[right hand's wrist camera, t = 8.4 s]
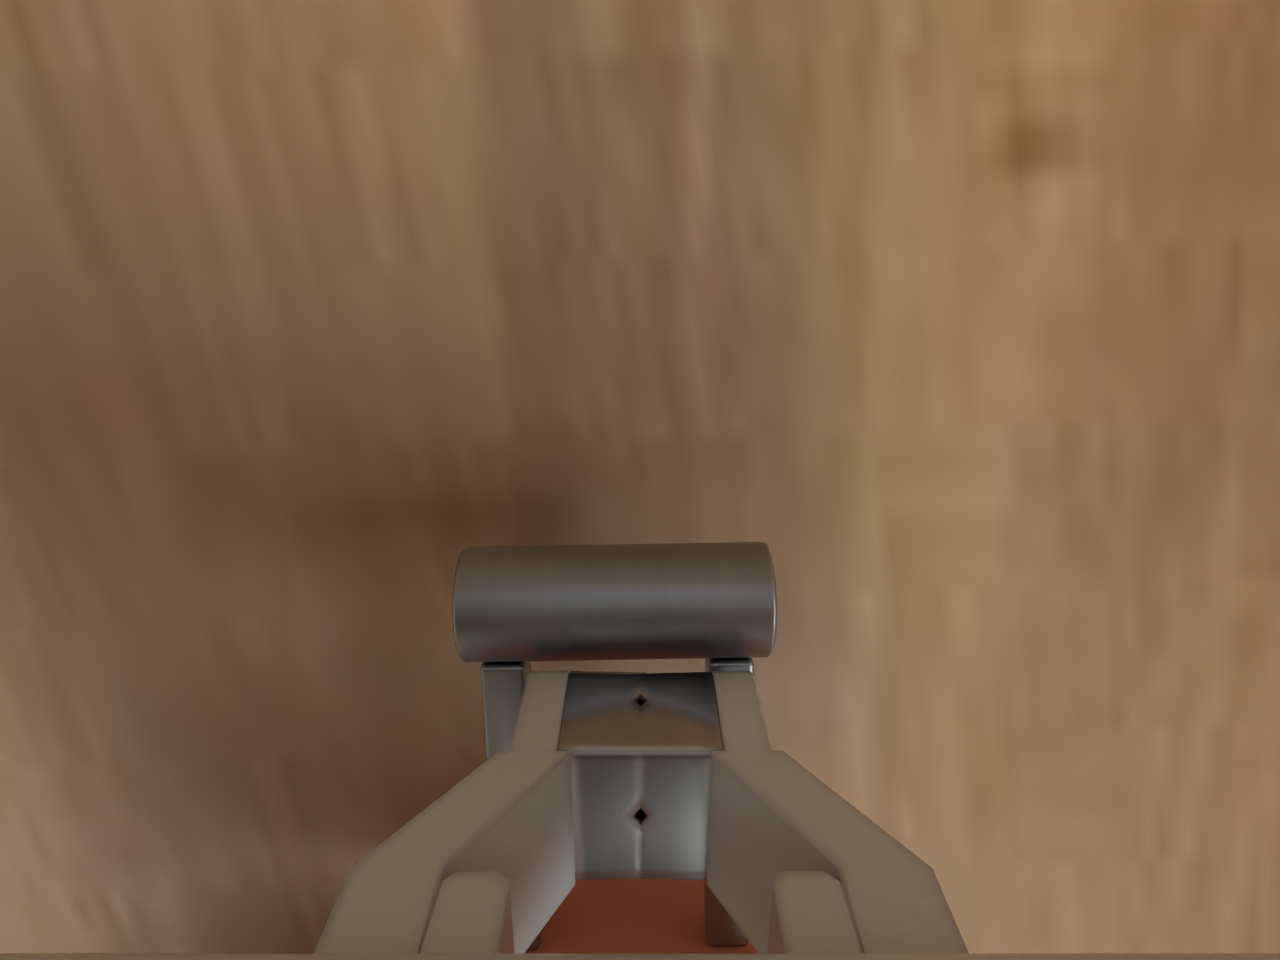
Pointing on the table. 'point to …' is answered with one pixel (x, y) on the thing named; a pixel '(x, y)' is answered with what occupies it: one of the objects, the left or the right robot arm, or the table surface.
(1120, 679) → the table surface
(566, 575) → the drawer
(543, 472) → the table surface
